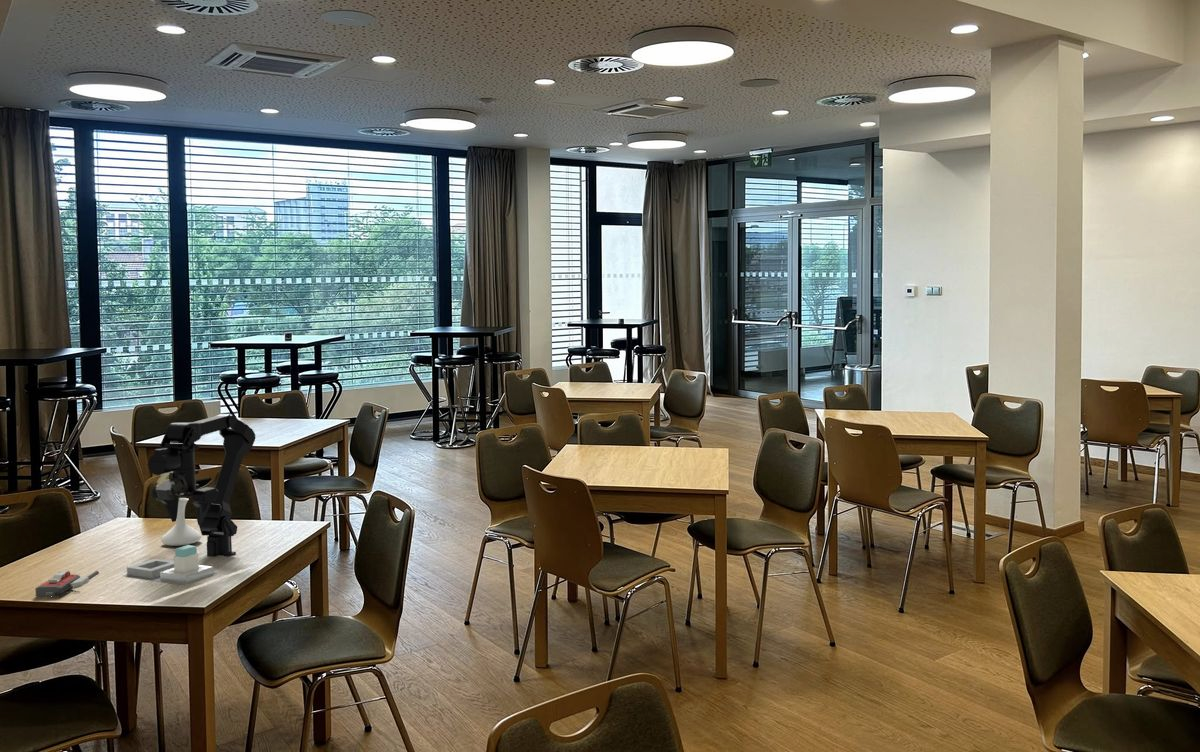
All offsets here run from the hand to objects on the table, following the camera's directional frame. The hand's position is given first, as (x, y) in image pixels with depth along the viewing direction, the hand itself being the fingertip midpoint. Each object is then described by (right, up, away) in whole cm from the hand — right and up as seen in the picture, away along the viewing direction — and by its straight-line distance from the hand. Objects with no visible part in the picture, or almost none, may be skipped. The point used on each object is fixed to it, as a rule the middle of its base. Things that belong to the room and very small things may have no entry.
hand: (186, 523), depth 272 cm
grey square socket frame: (-7, -13, -6) cm, 16 cm away
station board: (-1, -13, -8) cm, 16 cm away
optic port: (+4, -14, -10) cm, 18 cm away
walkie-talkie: (-24, -15, -17) cm, 33 cm away
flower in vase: (-14, -11, +27) cm, 32 cm away
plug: (+4, -13, -10) cm, 17 cm away
